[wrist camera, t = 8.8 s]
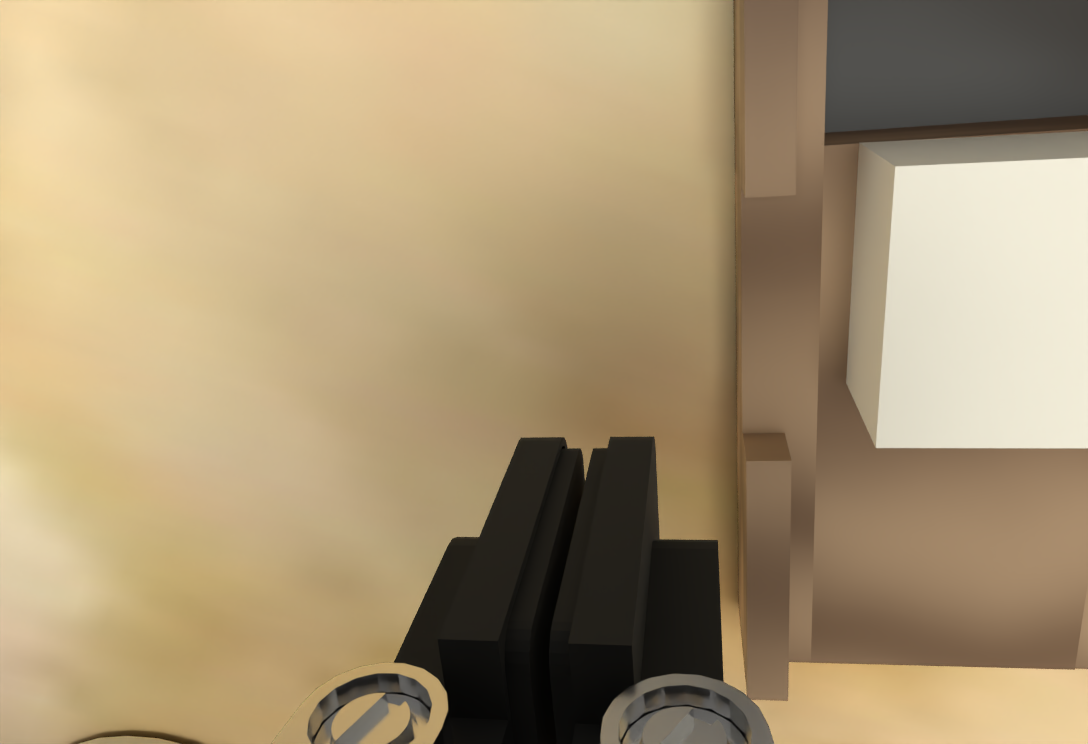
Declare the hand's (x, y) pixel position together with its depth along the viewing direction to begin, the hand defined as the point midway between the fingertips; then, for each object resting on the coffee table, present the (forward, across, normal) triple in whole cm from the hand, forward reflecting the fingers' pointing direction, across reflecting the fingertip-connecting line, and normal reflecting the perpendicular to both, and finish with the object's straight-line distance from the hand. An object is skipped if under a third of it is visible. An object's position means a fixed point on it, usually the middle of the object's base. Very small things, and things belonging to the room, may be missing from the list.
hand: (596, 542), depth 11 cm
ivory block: (+11, -7, 0) cm, 13 cm away
